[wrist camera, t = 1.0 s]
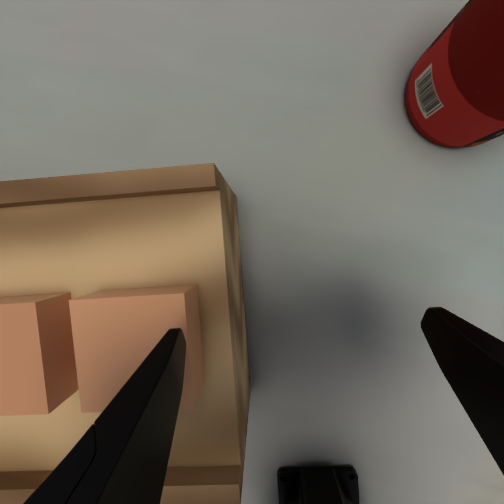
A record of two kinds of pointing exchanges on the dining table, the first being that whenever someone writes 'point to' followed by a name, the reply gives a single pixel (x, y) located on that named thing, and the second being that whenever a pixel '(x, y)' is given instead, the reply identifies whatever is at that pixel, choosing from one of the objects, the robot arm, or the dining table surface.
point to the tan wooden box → (125, 277)
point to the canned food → (462, 79)
